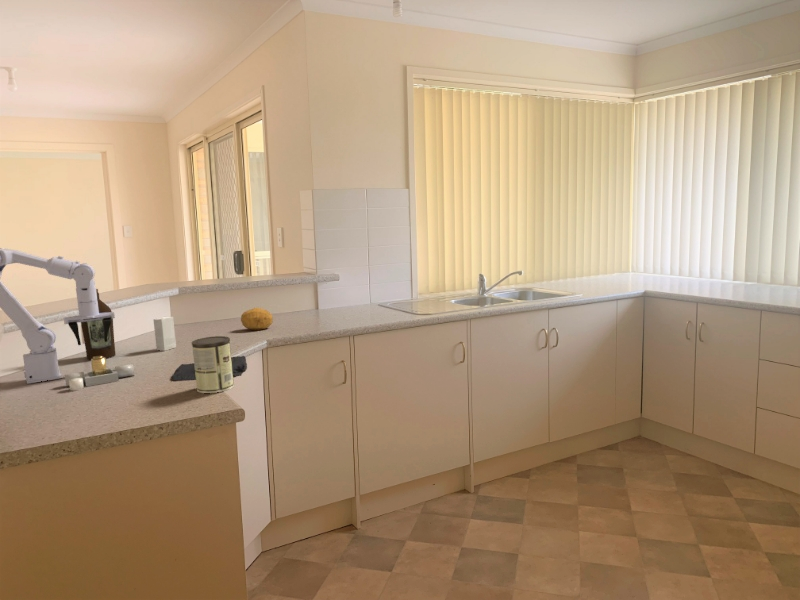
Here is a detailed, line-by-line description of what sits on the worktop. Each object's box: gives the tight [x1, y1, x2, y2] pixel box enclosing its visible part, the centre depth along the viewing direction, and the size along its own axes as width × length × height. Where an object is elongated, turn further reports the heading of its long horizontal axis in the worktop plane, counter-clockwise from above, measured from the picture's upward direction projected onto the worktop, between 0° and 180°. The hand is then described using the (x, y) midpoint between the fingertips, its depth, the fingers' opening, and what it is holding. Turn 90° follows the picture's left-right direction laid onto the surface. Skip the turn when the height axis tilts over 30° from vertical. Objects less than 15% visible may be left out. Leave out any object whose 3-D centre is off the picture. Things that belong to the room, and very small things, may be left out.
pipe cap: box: [68, 378, 84, 392], centre depth 179 cm, size 4×4×3 cm
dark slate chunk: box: [171, 355, 248, 382], centre depth 189 cm, size 15×22×5 cm
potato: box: [240, 307, 274, 331], centre depth 260 cm, size 10×13×9 cm
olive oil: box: [80, 288, 116, 360], centre depth 219 cm, size 11×11×25 cm
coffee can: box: [191, 335, 235, 394], centre depth 171 cm, size 10×10×14 cm
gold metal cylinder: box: [90, 356, 108, 376], centre depth 187 cm, size 4×4×8 cm
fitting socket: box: [64, 363, 135, 388], centre depth 187 cm, size 19×9×4 cm, turn 122°
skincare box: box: [153, 316, 177, 352], centre depth 228 cm, size 6×4×12 cm
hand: (92, 343), depth 196 cm, fingers open, 7 cm apart
